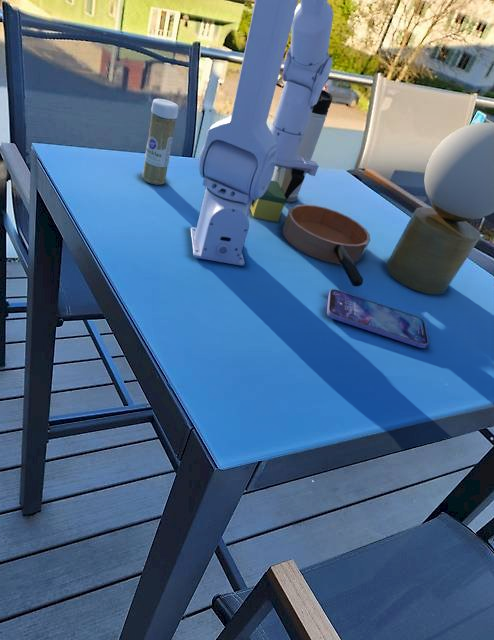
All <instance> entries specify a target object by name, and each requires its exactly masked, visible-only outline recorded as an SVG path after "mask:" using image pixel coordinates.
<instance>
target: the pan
mask: <svg viewBox="0 0 494 640" xmlns="http://www.w3.org/2000/svg"><path fill="white" fill-rule="evenodd" d="M288 209H289V210H288V213H287V215H286V218H285V220H284V224H283V227H282V235H283V237H284V238H285V240H286V241H287V242H288V243H289V244H290V245H291V246H292V247H294V248H295V249H297V250H299V251H300V252H302V253H303V254H304V255H307V256H310V257H312V258H315V259H316V260H317V259H318V260H319V261H323V262H327V263H332V264H336V265H337V264H338V265H341V264H340V262H339V260H338V258H337V256H336V254H335V253H334V248H335V247H336V246H337V245H340V244H341V245H343V246H344V247H345V249H346V251H347V252H348V254H349V256H350V257H351V259H352V261H353V262H354V264H355V263H358V262H359V261H360V260H361V259H362V258H363V256H364V254H365V252H366V250H367V248H368V246H369V245H370V242H371V234H370V233H369V231H368V229H366V228H365V227H364V226H363V225H362V224H360V223H359V222H358V221H357V220H355V219H353V218H351V217H350V216H348V215H346V214H344V213H341V212H339V211H338V210H334V209H331V208H329V207H328V208H327V207H324V206H319V205H315V204H298V205H293V206H292V207H289V208H288Z"/></svg>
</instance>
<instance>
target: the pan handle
mask: <svg viewBox="0 0 494 640" xmlns="http://www.w3.org/2000/svg"><path fill="white" fill-rule="evenodd" d="M334 253H335V254H336V256H337V258H338V260H339V262H340V264H339V265H341V267H342V270H343V271H344V273H345V275H346V276H347V278H348V280H349V282H350V283H351V286H352V287H355V288H358V287H360V286H362V285H363V283H364V278H363V276H362V275H361V273H360V271H359V270H358V269H359V268H358V267H357V266H356V264H355V263H354V262H353V261H352V259H351V257H350V256H349V254H348V252H347V251H346V249H345V247H344V246H343V245H341V244H340V245H337V246H336V247H335V248H334Z"/></svg>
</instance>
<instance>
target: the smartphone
mask: <svg viewBox="0 0 494 640" xmlns="http://www.w3.org/2000/svg"><path fill="white" fill-rule="evenodd" d="M326 314H327V316H328V317H329V318H330V319H332V320H336V321H338V322H342V323H344V324H347V325H350V326H353V327H356V328H359V329H362V330H366V331H368V332H371V333H375V334H376V335H381V336H383V337H386V338H389V339H393V340H394V341H395V340H396V341H399V342H402V343H405V344H408V345H411V346H413V347H417V348H420V349H426V347H428V344H429V338H428V332H427V327H426V323H425V321H424V319H423V318H422V317H420V316H418V315H414V314H412V313H408V312H406V311H402V310H400V309H397V308H394V307H391V306H388V305H384V304H382V303H378V302H375V301H372V300H369V299H367V298H364V297H360V296H357V295H354V294H352V293H349V292H345V291H342V290H340V289H336V288H332V289H330V290H329V292H328V296H327V306H326Z"/></svg>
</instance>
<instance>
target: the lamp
mask: <svg viewBox="0 0 494 640" xmlns="http://www.w3.org/2000/svg"><path fill="white" fill-rule="evenodd" d="M424 171H425V172H424V178H423V179H424V183H423V184H424V189H425V194H426V196H427V197H428V199H429V202H430V204H431V207H427V206H426V207H425V206H422V207H417V208H416V209H415V210H414V211H413V213H412V215H411V217H410V219H409V221H408V223H407V224H406V226H405V228H404V230H403V232H402V234H401V236H400V237H399V239H398V241H397V243H396V245H395V246H394V249H393V250H392V252H391V254H390V256H389V257H388V260H387V262H386V264H385V268H386V271H387V272H388V274H389V275H390V276H391V277H392V278H393V279H394V280H395V281H397V282H399V283H400V284H401V285H403V286H405V287H407V288H409V289H411V290H414V291H416V292H419V293H422V294H427V295H433V296H435V295H442V294H443V293H446V291H447V289H448V288H449V286H450V285H451V283H452V282H453V280H454V279H455V277H456V275H458V272H459V271H460V269H461V268H462V267H463V264H464V263H465V262H466V260H467V258H469V256H470V254H471V253H472V251H473V249H474V248H475V246H476V245H477V243H478V241H479V240H480V239H481V233H480V231H478V229H477V228H476V227H474V226H473V225H472V224H470V223H469V222H470V221H474V220H476V219H480V218H484V217H487V216H489V215H491V214H493V213H494V122H476V123H471V124H467V125H464V126H462V127H460V128H458V129H456V130H455V131H453V132H451V133H450V134H448V135H447V136H446V137H444V139H443V140H442V141H440V143H439V144H438V145H437V146H436V148H434V149H433V152H432V153H431V155H430V157H429V159H428V160H427V163H426V167H425V170H424Z"/></svg>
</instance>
